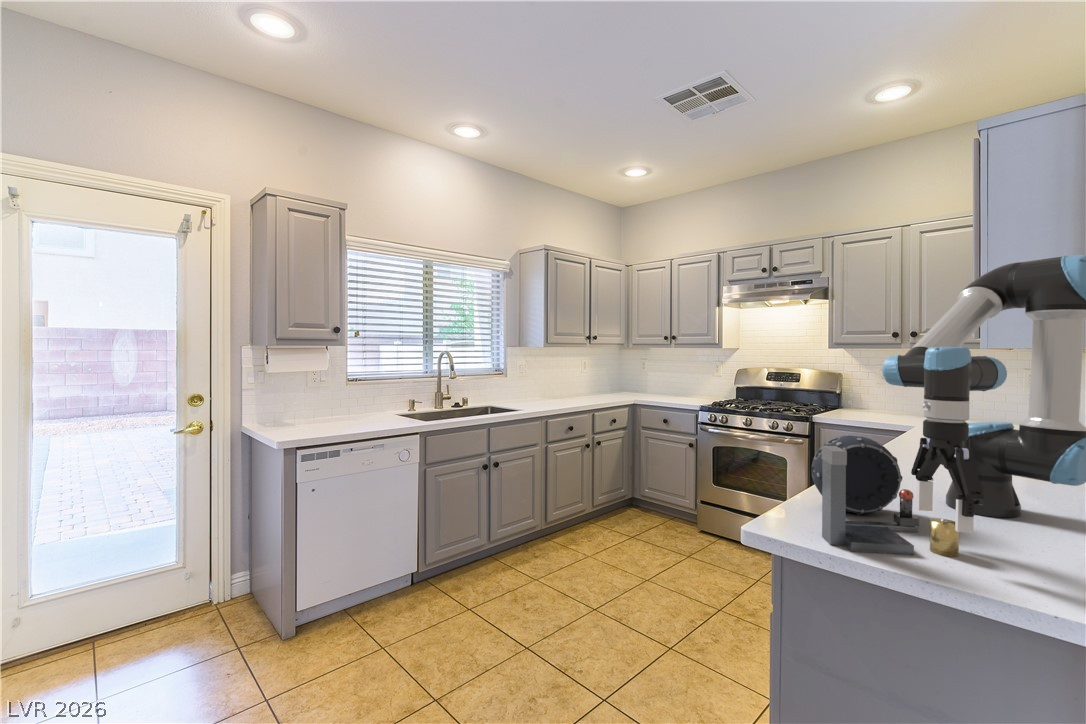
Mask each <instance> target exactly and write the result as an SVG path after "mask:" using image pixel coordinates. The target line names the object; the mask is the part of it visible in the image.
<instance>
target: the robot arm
mask: <svg viewBox="0 0 1086 724" xmlns="http://www.w3.org/2000/svg"><path fill="white" fill-rule="evenodd" d="M1013 309H1025V310H1024V311H1025V312H1024V315H1025V316H1027V317H1028V318H1030V319H1031V320H1032V337H1031V338H1032V341H1031V359H1030V374H1029V375H1030V379H1029V394H1028V395H1029V397H1028V398H1029V399H1028V401H1029V402H1028V416H1027V418H1026V419H1024V420H1022V421H1021V422H1019V428H1018V429H1015V426H1014V424H1013V423H1011V422H1006V421H1004V422H1003V421H987V422H986V421H985V422H984V421H983V422H982V421H980V422H977V421H976V422H966V421H969V420H970V392H980V391H981V392H987V391H990V390H995V389H998V388H999V387H1001V386H1002V385H1003V384H1004V383H1005V382H1006V380H1007V377H1008V376H1007V375H1008V371H1007V368H1006V366H1005V364H1004V363H1003V362H1002V361H1001V360H999V359H998V358H995V357H993V356H986V355H977V356H975V355H974V356H973V355H971V350H970V349H969V348H968V347H966V346H963V345H964V344H965V342H967V340H969V339H970V337H972V336H973V334H974V333H975V332H976V331H977V330H978V329H979V328H980V327H981V326H982V325H983V324H984V323H986V321H987V320H988V319H992V318H995V317H996V316H997V315H999V314H1000V313H1001V312H1002V311H1006V310H1013ZM1085 320H1086V254H1076V255H1075V254H1074V255H1063V256H1057V257H1049V258H1043V259H1035V260H1034V259H1033V260H1030V261H1027V260H1026V261H1022V262H1021V261H1019V262H1011V263H1008V264H1004V265H1001V266H999V267H996V268H994V269H992V270H989V271H988V272H986V273H984V274H983V275H981V276H979V277H978V278H976V279H975V280H973V281H972V282H971V283H969V284H968V285H967V286H965V288H964V289H963V290H961V291H960V293H959V294H958V296H957V299H956V302H955V304H954V305H952V306H951V308H950V309H949V310H948V311H947V312H946V313H945V314H943V316H942V317H941V318H940V319H939V320H938V321H937V322H936V323H935V324H934V325H933V326H931V328H930V329H929V330H928V331H927V332H925V334H923V336H922V337H921V338H919V340H918V341H917V342H916V343H915V344H914V345H913V346H912V347H911V348H910V349H909V350H908V351H907V352H906V353H905V354H904V355H902V354H897V355H891V356H888V357H887V358H886V359H884V362H883V364H882V368H881V370H882V377H884V381H885V382H886V383H887V384H888V385H892V386H898V387H904V388H923V393H924V394H923V404H921V405H922V409H923V417H924V418H926V419H924V420H923V422H922V436H923V437H921V438H919V447H918V450H917V454H916V456H915V459H914V462H913V465H912V467H911V472H910V474H911V475H912V476H915V480H917V490H916V491H917V494H916V495H917V496H916V497H917V498H916V499H917V500H916V510H917V511H923V512H925V511H926V512H933V502H934V501H933V500H934V499H933V497H934V496H933V495H934V494H933V493H934V482H933V481H934V474H935V473H936V472H937V471H938V469H939V468H940V466H943V468H944V469H946V470H947V471H948V473H949V476H950V478H951V480H952V481H951V483H950V486H949V488H948V490H947V492H946V494H945V504H946V505H947V506H949V507H950V508H953V509H955V521H954V522H955V531H957V532H959V533H970V534H973V533H974V516H975V515H980V516H986V517H994V518H1017V517H1020V516H1021V515H1022V505H1021V503H1020V500H1019V496H1018V495H1017V493H1016V490H1015V487H1014V485H1013V476H1014V477H1021V478H1025V479H1032V480H1037V481H1043V482H1048V483H1051V484H1054V485H1066V486H1073V487H1075V486H1082V485H1084V484H1086V426H1085V425H1084V424H1083V423H1081V422H1080V409H1081V388H1082V387H1081V385H1082V373H1083V372H1082V371H1083V369H1082V368H1083V354H1084V353H1083V352H1084V351H1083V350H1084V349H1083V348H1084V330H1085Z"/></svg>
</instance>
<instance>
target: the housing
mask: <svg viewBox="0 0 1086 724" xmlns="http://www.w3.org/2000/svg"><path fill="white" fill-rule="evenodd" d="M959 550H960V532H957V531H955V521H954V520H950V519H946V518H938V517H937V518H936V517H935V518H934V517H933V518H930V519H929V552H930V553H933V554H936V555H937V556H941V557H947V558H957V557H959V555H960V553H959V552H960V551H959Z"/></svg>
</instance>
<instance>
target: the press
mask: <svg viewBox="0 0 1086 724" xmlns="http://www.w3.org/2000/svg"><path fill="white" fill-rule="evenodd" d="M821 446H822V495H821V496H822V497H821V499H822V501H821V502H822V503H821V504H822V505H821V508H822V509H821V512H822V513H821V514H822V515H821V537H822V538H823V539H824V541H826V542H827V543H828V545H829V546H837V547H838V546H839V547H846V548H847V550H848V551H850V552H852V553H853V552H855V553H872V554H887V555H888V554H890V555H891V554H892V555H907V556H908V555H909V556H914V555H915V545H913V543H911V542H909V541H908V540H907V539H906V538H904V537H903V536H902V535H900V534H898V533H897V532H903V533H904V532H907V533H909V532H910V533H918V532H919V526H901V525H898V524H897V523H895V522H889V521H888V522H887V521H886V522H882V521H865V520H864V521H863V520H847V519H846V514H847V513H846V512H847V511H846V465H847V451H845V450H843V449H841V448H839V447H837V446H823V445H821Z"/></svg>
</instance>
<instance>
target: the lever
mask: <svg viewBox="0 0 1086 724" xmlns="http://www.w3.org/2000/svg"><path fill="white" fill-rule="evenodd" d="M913 493H914V492H912V491H911V490H910V489H907V488H905V489H901V490H899V491H898V497H899V513H893V515H892V516H893V517H892V518H893V519H892V520H893V521H892V522H893V523H897V524H898V525H901V526H917V527H919V526H920V518H918V517H917V516H915V515H914V514H913V499H914V494H913Z"/></svg>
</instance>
